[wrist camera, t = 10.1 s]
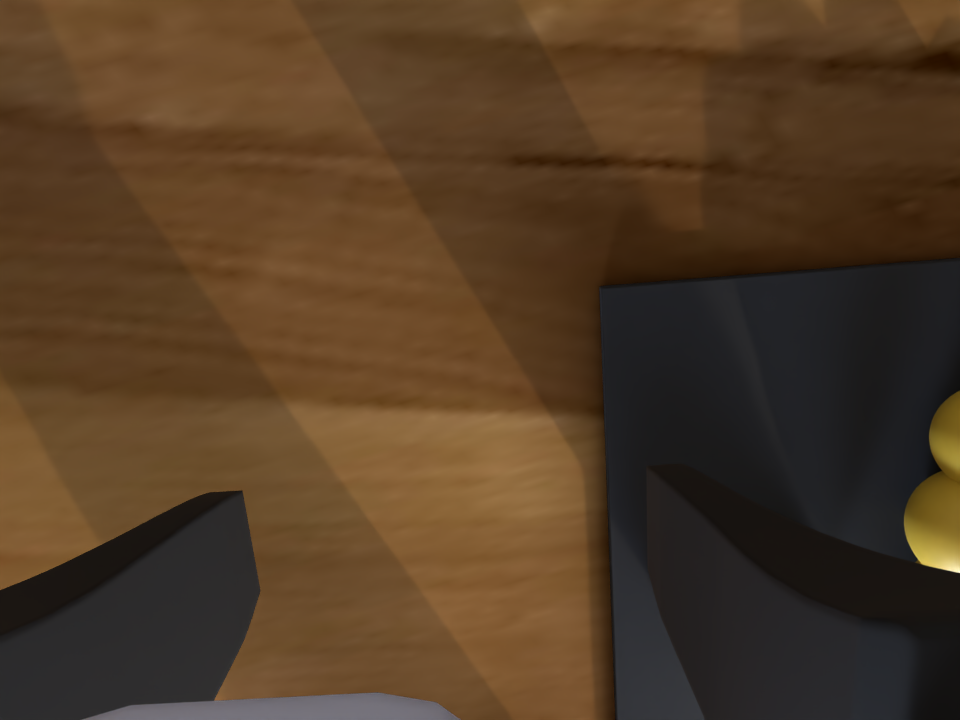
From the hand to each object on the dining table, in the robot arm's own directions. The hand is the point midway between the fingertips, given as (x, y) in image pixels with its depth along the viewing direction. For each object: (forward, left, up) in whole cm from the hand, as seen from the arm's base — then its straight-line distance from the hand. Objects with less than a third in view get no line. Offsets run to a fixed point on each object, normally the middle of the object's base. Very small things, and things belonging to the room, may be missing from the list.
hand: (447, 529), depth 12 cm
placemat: (-8, -12, -10) cm, 18 cm away
